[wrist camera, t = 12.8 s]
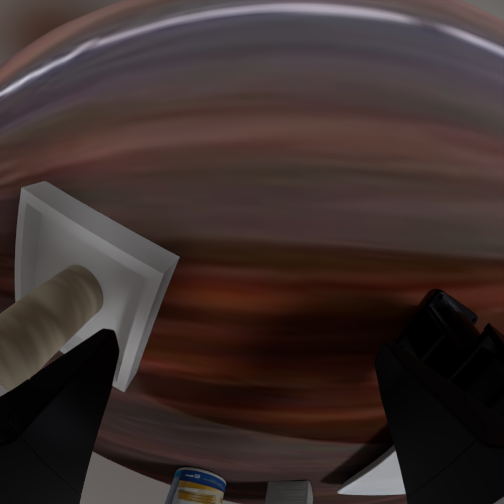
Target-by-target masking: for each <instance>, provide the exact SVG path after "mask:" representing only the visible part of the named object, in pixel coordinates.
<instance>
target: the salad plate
mask: <svg viewBox="0 0 504 504" xmlns="http://www.w3.org/2000/svg"><path fill="white" fill-rule="evenodd" d="M337 493H339V494H350V495H396V494H406V493H405V488H404V484H403V479H402V475H401V471H400V466H399V462H398V458H397V454H396V450H395V446H394V445H393V446H392V447H391V448H390V449H388V450H387V451H386V452H385V453H384V454H382V455H381V456H380V457H379V458H377V459H376V460H375V461H374V462H372V463H371V464H370V465H368V466H367V467H365V468H364V469H363V470H361V471H360V472H358V473H357V474H355V475H354V476H353V477H351V478H350V479H348V480H347V481H346V482H345V483H344V484H343V485H342V486H341V487H340V488H339V489H338V491H337Z"/></svg>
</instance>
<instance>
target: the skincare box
mask: <svg viewBox="0 0 504 504" xmlns="http://www.w3.org/2000/svg"><path fill="white" fill-rule="evenodd" d="M312 501H313V495H312V488H311V485H310V482H309V481H308V480H307V481H281V482H268V486H267V492H266V497H265V503H264V504H312Z"/></svg>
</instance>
